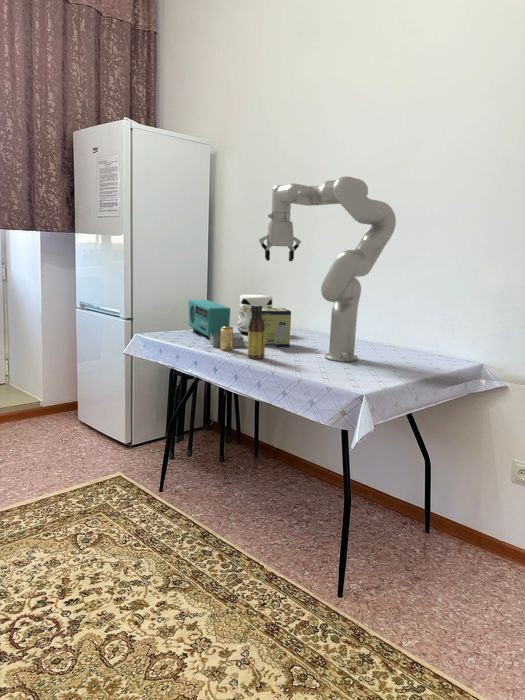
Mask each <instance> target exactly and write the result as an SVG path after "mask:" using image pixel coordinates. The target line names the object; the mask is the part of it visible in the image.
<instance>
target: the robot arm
mask: <svg viewBox="0 0 525 700" xmlns="http://www.w3.org/2000/svg"><path fill="white" fill-rule="evenodd" d="M271 192H272V193H271V194H272V196H271V198H272V199H271V213H269V214H267V217H268V219H269V218H270V220H269V223H268V230H267V234H266V235H265V236H263V237H260V238H259V239H258V241H259V245H260V246H261V247H262V248H263V250H264V258H265V261H268V262H269V261H271V260H270V259H271V258H270V256H271V251H270V249H271V248H272V247H287V248H288V250H289V252H288V261H289V262H293V260H294V257H295V251H296V250H297V249H298V248H299V246H300V244H301V242H302V241H301V239H298V238H297V237H296V236H294V225H293V221H291V206H292V204H293V205H300V206H326V205H339V204H340V205H341V206H342V207H343V209H344V210H345V211H346V212H347V213H348V215H350V217H352V219H354V220H355V221H356V222H357V223H360V224H362V225H369V226H370V225H371V227H370V228H369V229H368V231H367V232H366V233H365V234H364V235H363V236H362V238H361V239H360V242H359V243H358V245H357V246H356V248H354V249H347V250H344V251H342V252H340V253H339V254H338V255H337V257H336V258H335V259H334V261H333V263H332V265H331V266H330V268H329V269H328V272H327V274H326V275H325V277H324V278H323V281H322V284H321V287H320V288H321V289H320V292H321V295H322V297H323V299H325V301H327V302H330V303H333V305H332V308H331V318H330V332H329V349H328V352H327V353H325V354H324V358H325V359H326V360H329V361H333V362H355V361H358V359H359V356H358V355H356V354H355V347H356V334H357V332H356V331H357V319H358V308H359V303H360V298H361V295H362V286H361V283H360V281H359V279H358V278H360V277H365V276H367V275H368V274H369V273H370V272H371V270H372V269H373V268H374V265H375V264H376V262H377V261H378V259H379V258H380V255H381V254H382V253H383V250H384V248H385V247H386V245H387V244H388V242H390V239H391V238H392V236H393V234H394V232H395V228H396V225H397V219H396V213H395V212H394V209H393V208H392V207H391V206H390V205H389V204H388V203H387V202H384V201H382V200H376V199H371V198H369V197H368V193H369V188H368V185H367V183H366V182H365V181H363V180H362V179H360V178H356V177H353V176H348V175H347V176H346V175H345V176H342V177H340V178H338V179H335V180H333V179H332V180H331V179H330V180H326V181H325V182H323V184H322V185H311V186H310V185H306V184H305V185H304V184H300V183H289V184H285V185H283V184H281V185H274V186H273V187H272V191H271ZM264 241H266V244H267V245H266V244H265V243H264ZM294 242H295V244H294Z"/></svg>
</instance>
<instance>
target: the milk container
mask: <svg viewBox="0 0 525 700" xmlns="http://www.w3.org/2000/svg"><path fill="white" fill-rule="evenodd" d="M251 305H262V308H273V296H271V295H266V294H241V295H240V297H239V315H238V317H237V320H236V321H237V322H236V323H237V324H236V325H237V330H238V331H239V333H242V334H247V335H248V326H249V323H250V308H251Z"/></svg>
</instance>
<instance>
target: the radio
mask: <svg viewBox="0 0 525 700" xmlns="http://www.w3.org/2000/svg"><path fill="white" fill-rule="evenodd" d="M230 317H231V308H230V307H228V306H224V305H222V304H220V303H217V302H213V301H211V300H208V299H189V300H188V325H189V327H191V328H192V330H193V331H192V332H193V333H202V334H203V335H205V336H207V337H208V340H210V333H221V327H222V326H230V323H231V322H230V321H231V320H230V319H231V318H230Z"/></svg>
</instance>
